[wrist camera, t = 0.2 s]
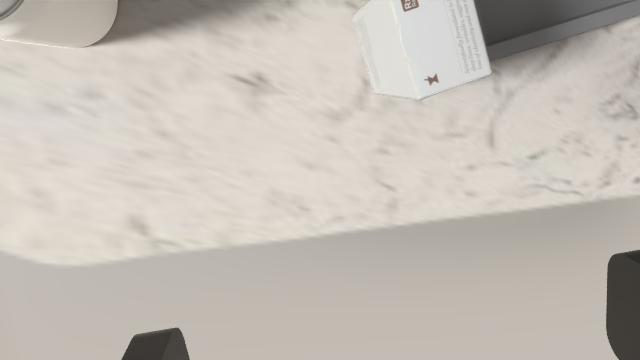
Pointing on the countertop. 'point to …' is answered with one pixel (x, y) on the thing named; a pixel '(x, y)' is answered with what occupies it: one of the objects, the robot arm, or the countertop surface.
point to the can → (56, 21)
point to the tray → (544, 21)
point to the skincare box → (420, 46)
